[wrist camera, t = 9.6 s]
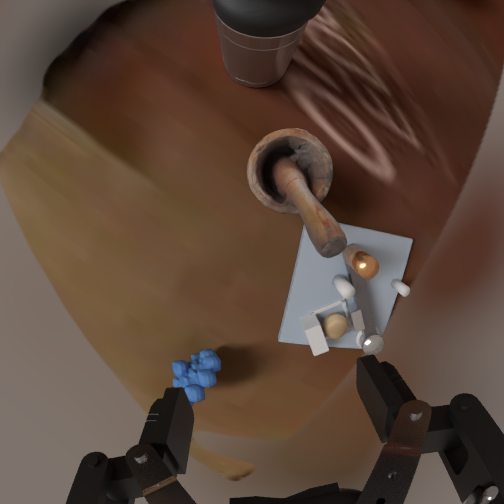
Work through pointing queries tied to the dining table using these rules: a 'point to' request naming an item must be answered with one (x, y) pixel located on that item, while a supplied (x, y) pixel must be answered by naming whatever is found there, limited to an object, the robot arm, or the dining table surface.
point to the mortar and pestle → (297, 184)
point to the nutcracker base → (324, 292)
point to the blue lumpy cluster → (197, 374)
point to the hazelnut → (334, 325)
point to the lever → (362, 297)
